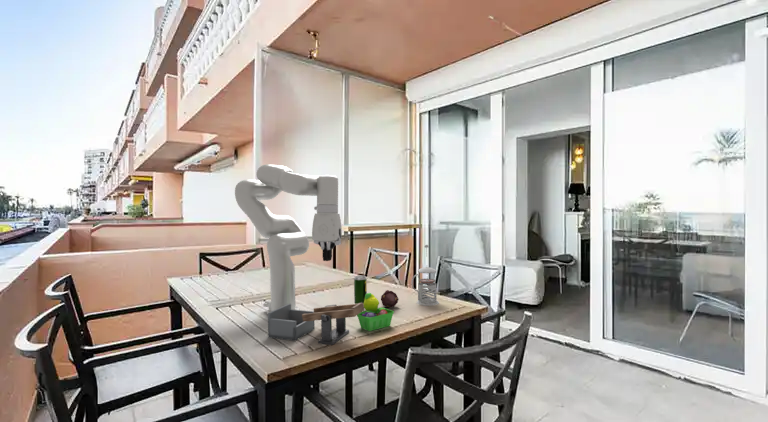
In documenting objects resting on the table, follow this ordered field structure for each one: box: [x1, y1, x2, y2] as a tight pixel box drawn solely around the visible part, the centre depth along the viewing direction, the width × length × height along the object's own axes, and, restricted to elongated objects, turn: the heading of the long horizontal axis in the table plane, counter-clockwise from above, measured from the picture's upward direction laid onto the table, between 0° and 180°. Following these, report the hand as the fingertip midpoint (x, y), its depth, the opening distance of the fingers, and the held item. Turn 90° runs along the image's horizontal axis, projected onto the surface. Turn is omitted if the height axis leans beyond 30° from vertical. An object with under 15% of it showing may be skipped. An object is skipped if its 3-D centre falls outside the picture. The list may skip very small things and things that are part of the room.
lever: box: [302, 303, 365, 322], centre depth 122 cm, size 18×16×2 cm
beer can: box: [353, 274, 368, 304], centre depth 158 cm, size 5×5×12 cm
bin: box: [267, 304, 316, 342], centre depth 123 cm, size 10×12×8 cm
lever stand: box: [317, 315, 350, 346], centre depth 118 cm, size 5×13×8 cm, turn 161°
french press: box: [411, 244, 440, 307], centre depth 159 cm, size 10×12×25 cm
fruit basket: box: [356, 292, 395, 332], centre depth 129 cm, size 11×9×11 cm
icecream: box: [380, 289, 400, 309], centre depth 154 cm, size 7×7×15 cm
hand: (327, 260), depth 134 cm, fingers closed
